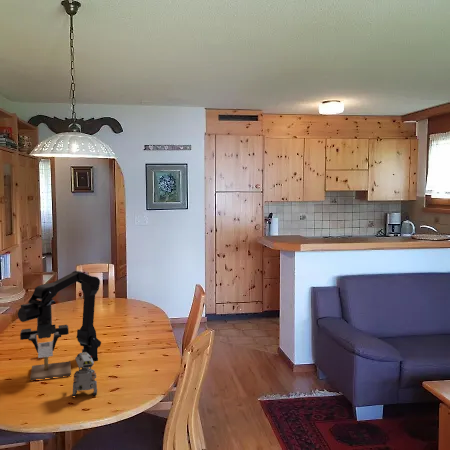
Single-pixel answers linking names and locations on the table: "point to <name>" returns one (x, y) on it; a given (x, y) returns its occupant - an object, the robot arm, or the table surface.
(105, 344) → the table surface
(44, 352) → the steel link
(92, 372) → the figurine
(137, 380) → the table surface
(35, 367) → the grey peg stand
